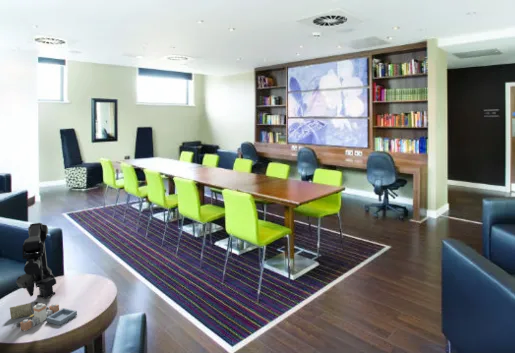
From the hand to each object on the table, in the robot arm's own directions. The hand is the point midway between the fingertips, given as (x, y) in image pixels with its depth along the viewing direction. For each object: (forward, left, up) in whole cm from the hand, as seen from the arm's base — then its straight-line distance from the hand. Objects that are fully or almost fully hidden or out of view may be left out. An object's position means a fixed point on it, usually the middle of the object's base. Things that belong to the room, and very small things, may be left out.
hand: (38, 297), depth 173 cm
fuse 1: (0, -8, -12) cm, 14 cm away
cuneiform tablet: (-11, 0, -12) cm, 16 cm away
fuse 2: (0, +7, -12) cm, 14 cm away
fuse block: (-2, 0, -12) cm, 12 cm away
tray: (+9, +4, -12) cm, 15 cm away
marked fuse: (0, 0, -12) cm, 12 cm away
